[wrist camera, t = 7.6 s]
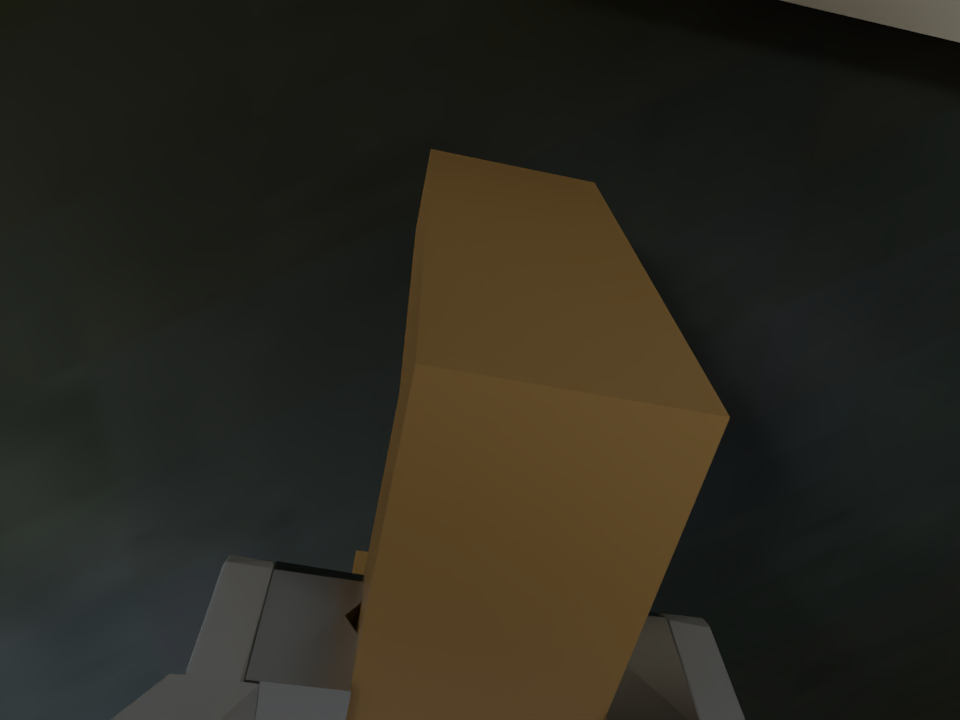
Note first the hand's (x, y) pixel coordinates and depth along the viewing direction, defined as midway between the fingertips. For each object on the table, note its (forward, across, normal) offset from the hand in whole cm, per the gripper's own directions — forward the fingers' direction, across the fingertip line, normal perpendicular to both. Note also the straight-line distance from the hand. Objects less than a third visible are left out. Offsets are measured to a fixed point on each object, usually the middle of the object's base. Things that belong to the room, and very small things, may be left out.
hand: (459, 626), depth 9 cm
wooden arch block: (+5, 0, 0) cm, 5 cm away
